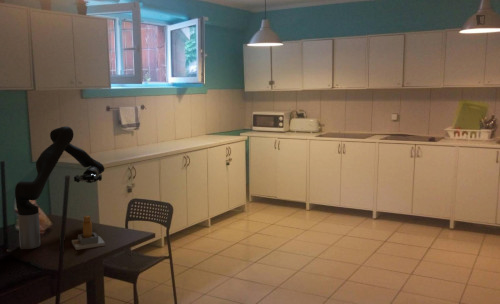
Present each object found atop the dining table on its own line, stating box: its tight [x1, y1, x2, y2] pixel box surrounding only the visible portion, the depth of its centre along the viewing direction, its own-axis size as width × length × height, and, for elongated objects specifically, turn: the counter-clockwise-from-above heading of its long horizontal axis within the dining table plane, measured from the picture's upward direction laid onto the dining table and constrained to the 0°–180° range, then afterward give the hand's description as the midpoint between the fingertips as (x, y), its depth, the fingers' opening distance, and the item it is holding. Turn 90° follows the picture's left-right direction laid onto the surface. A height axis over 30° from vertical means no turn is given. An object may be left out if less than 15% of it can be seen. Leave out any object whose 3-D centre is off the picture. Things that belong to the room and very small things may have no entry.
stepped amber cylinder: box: [82, 215, 93, 238], centre depth 240 cm, size 4×4×13 cm
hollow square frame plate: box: [71, 232, 106, 251], centre depth 241 cm, size 14×12×4 cm
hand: (86, 180), depth 253 cm, fingers open, 8 cm apart
